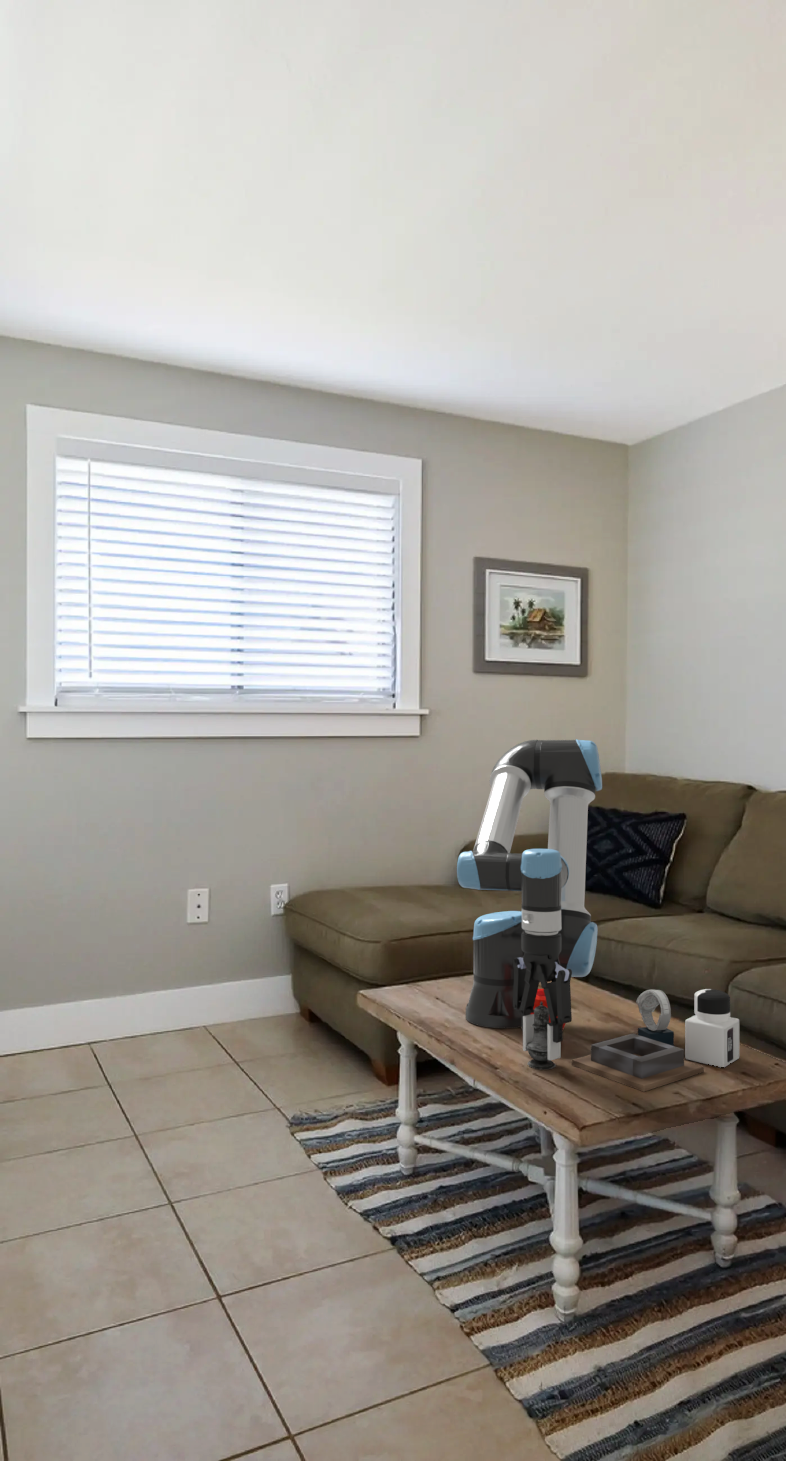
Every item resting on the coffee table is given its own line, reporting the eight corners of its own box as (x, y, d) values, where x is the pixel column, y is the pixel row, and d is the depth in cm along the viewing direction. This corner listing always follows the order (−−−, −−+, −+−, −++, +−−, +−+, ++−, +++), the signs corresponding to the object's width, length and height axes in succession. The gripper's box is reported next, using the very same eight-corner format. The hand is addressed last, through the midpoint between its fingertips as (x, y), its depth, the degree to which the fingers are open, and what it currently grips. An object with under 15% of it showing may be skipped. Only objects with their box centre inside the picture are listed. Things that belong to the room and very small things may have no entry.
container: (740, 1058, 184) (739, 991, 184) (723, 1069, 178) (723, 999, 178) (701, 1050, 189) (701, 984, 189) (684, 1060, 183) (684, 992, 184)
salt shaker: (522, 1067, 179) (522, 1003, 179) (530, 1058, 184) (530, 996, 184) (553, 1072, 177) (553, 1007, 177) (560, 1062, 182) (560, 999, 182)
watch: (656, 1038, 197) (656, 984, 197) (678, 1050, 189) (678, 994, 189) (632, 1040, 195) (632, 986, 195) (654, 1052, 188) (654, 996, 188)
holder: (571, 1065, 180) (571, 1044, 180) (631, 1048, 190) (631, 1028, 190) (643, 1091, 166) (643, 1068, 166) (703, 1072, 176) (703, 1050, 176)
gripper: (493, 926, 186) (493, 1045, 186) (563, 942, 171) (564, 1072, 171) (521, 921, 191) (521, 1038, 190) (592, 937, 175) (592, 1063, 175)
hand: (541, 1053), depth 180 cm, fingers closed on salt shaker, 6 cm apart
